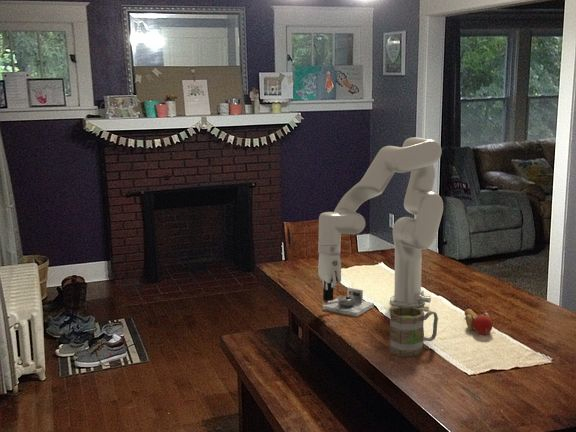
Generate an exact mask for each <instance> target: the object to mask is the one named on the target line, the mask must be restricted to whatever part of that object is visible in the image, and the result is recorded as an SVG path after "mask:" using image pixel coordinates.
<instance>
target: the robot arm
mask: <svg viewBox="0 0 576 432" xmlns="http://www.w3.org/2000/svg"><path fill="white" fill-rule="evenodd" d="M402 143H403V144H402V146H394V145H386V146H383V147H382V148H380V149H379V150H378V152H377V153H376V156H375V157H374V159H373V160H372V162H371V163H370V164H369V166H368V168H367V170H366V172H365V173H364V175H363V177H362V178H361V179H360V181H359V182H357V183H356V184H355V185H353V186H352V188H350V189H349V190H348V191H347V192H346V193H344V195H343V196H342V197H341V199H340V200H339V202H338V203H337V205H336V207H335V209H334V211H325V212H322V213H319V217H318V242H317V243H318V249H317V251H318V252H317V253H318V262H317V263H318V264H317V267H318V268H317V272H318V274H317V275H318V277H319V278H320V280H321V281H322V301H323V300H325V301H332V300H334V289H335V288H337V283H341V282H342V262H341V261H342V260H341V255H340V254H341V234H343V235H344V234H345V235H357V234H360V233H361V232H363V230H364V229H365V227H366V219H365V217H364V216H363V215H361V213H358V212H356V211H357V210H358V209H359V207H360V206H361V205H362V204H364V203H365V202H366V201H368V200H370V199H373V198H376V197H378V196H380V195H382V194H383V193H384V191H385V189H386V187H388V184H389V183H390V181H391V179H392V178H393V176H394V175H395V173H397V174H399V173H400V174H405V173H408V172H410V177H409V180H408V186H407V188H406V192H405V196H404V200H403V207H404V209H405V211H407V212H408V213H409V214H412V215H414V216H415V217H416V218H415V217H414V218H413V217H410V216H403V217H399V218H398V219H397V220H396V221H395V222H394V224H393V227H392V238H393V244H394V245H393V246H394V291H393V292H394V293H393V295H392V296H391V297H390V298H389V302H390V303H391V304H392V305H394V306H396V307H398V306H409V307H415V308H418V307H421V306H424V305H425V303H431V301H432V297H431V295H426V294H425V293H424V290H422V258H423V257H422V256H423V255H422V250H427V249H429V248H430V247H431V246H432V245H433V244H434V242H435V241H436V238H437V234H438V231H439V228H440V223H441V220H442V216H443V212H444V201H443V198H442V197H441V196H440V195H439V194H438V193H437V192H436V191H435V192H434V191H433V190H434V189H433V187H434V184H435V179H436V170H435V169H436V168H435V165H434V164H435V163H437V162H439V160H440V159H441V156H442V153H443V152H442V151H443V149H442V147H441V145H440V143H439V142H438V141H437V140H436V139H435V140H434V139H430V138H422V137H408V138H407V139H405V140H404V142H402ZM323 288H325V289H323Z"/></svg>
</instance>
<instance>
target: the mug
mask: <svg viewBox="0 0 576 432" xmlns="http://www.w3.org/2000/svg"><path fill="white" fill-rule="evenodd" d="M432 315H433V322H432V323H433V324H432V326H433V327H432V334H431V336H430V337H426V336H425V331H424V329H425V328H424V322H425V321H426V320H428V318H429V317H430V316H432ZM389 317H390V320H389V345H388V346H389V348H388V349H389V353H391V354H393V355H396V356H398V357H408V358H410V357H411V358H414V357H415V358H416V357H417V356H420V355H423V354H424V342H432V341H434V340H436V337H437V333H438V332H437V331H438V321H439V317H438V314H437V312H435V311H432V310H430V311H427V312H426V313H425V312H424V309H421V308H418V307H409V306H396V307H394V308H389Z"/></svg>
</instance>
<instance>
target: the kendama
mask: <svg viewBox="0 0 576 432" xmlns="http://www.w3.org/2000/svg"><path fill="white" fill-rule="evenodd" d="M464 316H465V321H466V325H467V328H468V330H474V331H475V332H476V333H478V334H479V335H487V334H489V333H490V332H491V331H492V329H493V326H494V325H493V321H492V319H491V316H490V315H489V313H488V312H483V313H482V314H481V315H477V314H476V313H475V312H474V311H473V310H472V309H471V308H467V309H466V310H465V311H464Z"/></svg>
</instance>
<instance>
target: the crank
mask: <svg viewBox="0 0 576 432" xmlns="http://www.w3.org/2000/svg"><path fill="white" fill-rule="evenodd" d="M323 289H325V288H323V287H322V290H323ZM338 297H339V298H338ZM338 297H337V298H338V300H334V299H333V301H332V300H331V301H325V300H323V299H322V306H323V305H328V304H334V303H338V305H340V306H353V305H354V304H355V298H354V297H351V296H347V295H342V296H341V297H340V296H338Z"/></svg>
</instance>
